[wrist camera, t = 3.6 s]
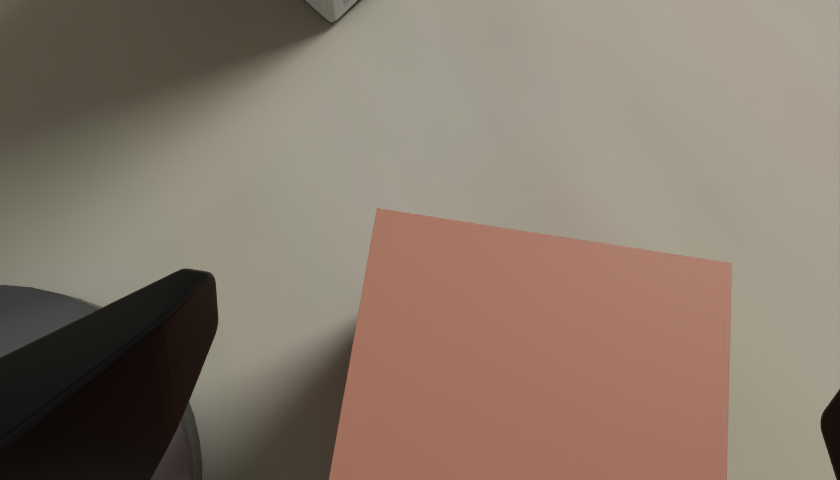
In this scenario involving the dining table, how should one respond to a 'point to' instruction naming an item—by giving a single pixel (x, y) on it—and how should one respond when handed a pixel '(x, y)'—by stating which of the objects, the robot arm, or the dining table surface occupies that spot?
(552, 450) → the upright salmon prism
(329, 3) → the supplement box
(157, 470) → the charcoal dinner plate
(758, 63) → the dining table surface
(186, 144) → the dining table surface
